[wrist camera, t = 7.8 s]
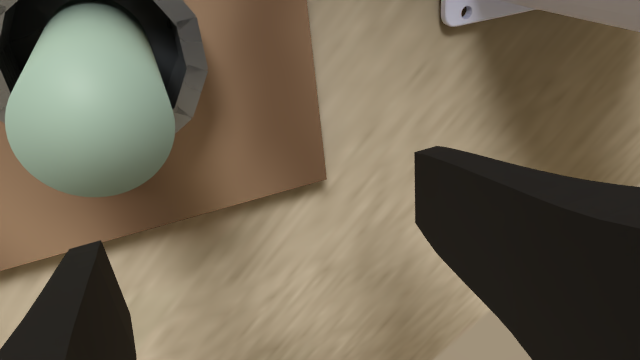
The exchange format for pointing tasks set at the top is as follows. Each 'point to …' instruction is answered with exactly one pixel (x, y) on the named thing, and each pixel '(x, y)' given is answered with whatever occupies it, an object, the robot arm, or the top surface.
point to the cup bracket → (179, 121)
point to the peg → (91, 103)
